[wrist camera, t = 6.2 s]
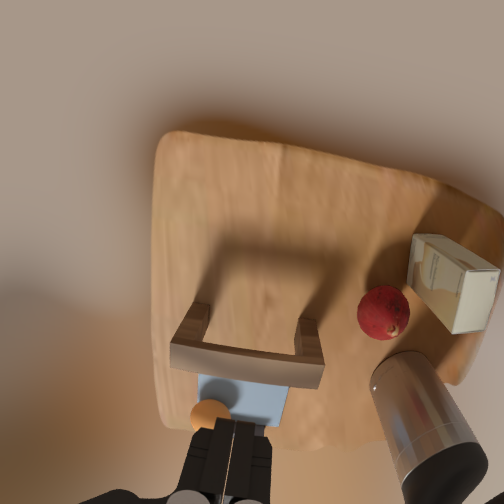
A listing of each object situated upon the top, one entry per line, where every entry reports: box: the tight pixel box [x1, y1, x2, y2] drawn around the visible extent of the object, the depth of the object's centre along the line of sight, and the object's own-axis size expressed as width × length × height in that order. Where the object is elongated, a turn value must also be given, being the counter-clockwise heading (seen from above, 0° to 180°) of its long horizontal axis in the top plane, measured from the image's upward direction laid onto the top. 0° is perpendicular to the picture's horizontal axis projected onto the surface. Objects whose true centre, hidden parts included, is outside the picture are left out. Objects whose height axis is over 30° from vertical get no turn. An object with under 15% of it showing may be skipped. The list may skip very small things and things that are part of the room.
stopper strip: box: [233, 422, 264, 438], centre depth 41 cm, size 8×1×2 cm, turn 83°
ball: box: [190, 399, 231, 431], centre depth 39 cm, size 6×6×6 cm
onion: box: [357, 285, 410, 340], centre depth 32 cm, size 6×6×8 cm
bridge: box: [170, 302, 325, 389], centre depth 33 cm, size 3×14×9 cm, turn 83°
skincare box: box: [407, 234, 500, 334], centre depth 28 cm, size 6×4×12 cm
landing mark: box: [197, 374, 289, 427], centre depth 40 cm, size 12×12×1 cm
